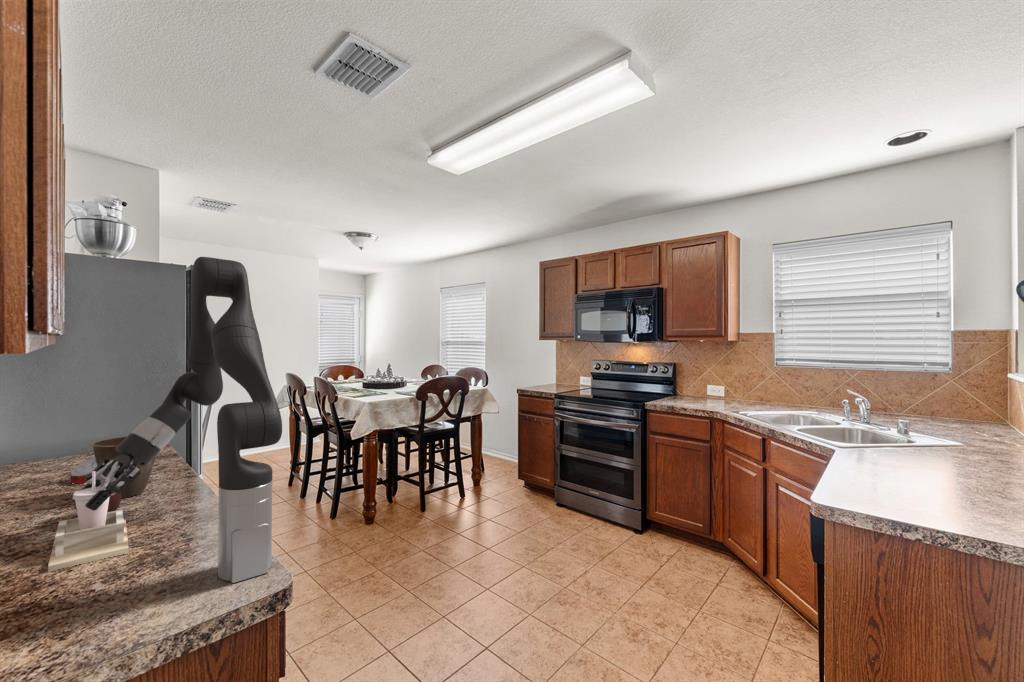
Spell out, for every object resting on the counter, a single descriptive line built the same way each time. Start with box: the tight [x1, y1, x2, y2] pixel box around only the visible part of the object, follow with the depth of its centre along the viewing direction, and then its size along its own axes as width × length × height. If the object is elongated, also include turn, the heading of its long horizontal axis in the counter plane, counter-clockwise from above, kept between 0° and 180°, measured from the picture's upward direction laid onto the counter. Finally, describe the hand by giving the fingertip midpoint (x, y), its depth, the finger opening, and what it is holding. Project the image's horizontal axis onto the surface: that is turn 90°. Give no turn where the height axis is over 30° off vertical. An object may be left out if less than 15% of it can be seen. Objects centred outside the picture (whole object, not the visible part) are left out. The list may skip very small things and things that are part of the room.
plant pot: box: [92, 436, 157, 499], centre depth 132 cm, size 15×15×16 cm
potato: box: [74, 481, 122, 512], centre depth 115 cm, size 9×12×9 cm
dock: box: [47, 509, 130, 573], centre depth 99 cm, size 20×12×5 cm, turn 42°
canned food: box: [69, 455, 97, 484], centre depth 146 cm, size 11×10×10 cm
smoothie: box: [72, 471, 110, 530], centre depth 100 cm, size 6×6×14 cm
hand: (82, 505), depth 98 cm, fingers open, 6 cm apart
